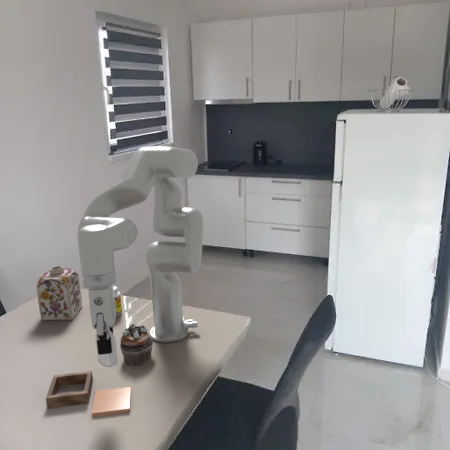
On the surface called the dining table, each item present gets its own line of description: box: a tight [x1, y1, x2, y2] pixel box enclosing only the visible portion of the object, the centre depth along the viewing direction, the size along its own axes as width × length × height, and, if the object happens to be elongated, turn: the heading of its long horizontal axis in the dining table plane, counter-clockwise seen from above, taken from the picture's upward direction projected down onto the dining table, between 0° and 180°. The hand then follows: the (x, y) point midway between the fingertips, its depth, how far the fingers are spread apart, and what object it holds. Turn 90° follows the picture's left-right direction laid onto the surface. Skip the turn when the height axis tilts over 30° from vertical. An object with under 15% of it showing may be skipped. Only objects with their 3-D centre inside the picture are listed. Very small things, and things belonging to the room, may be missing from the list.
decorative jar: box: [36, 265, 83, 321], centre depth 162 cm, size 12×12×18 cm
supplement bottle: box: [113, 285, 123, 317], centre depth 161 cm, size 6×6×10 cm
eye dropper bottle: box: [94, 324, 119, 368], centre depth 108 cm, size 4×6×12 cm
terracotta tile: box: [91, 386, 132, 418], centre depth 113 cm, size 9×9×1 cm
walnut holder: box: [45, 370, 94, 410], centre depth 117 cm, size 10×10×3 cm
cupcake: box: [119, 323, 154, 366], centre depth 132 cm, size 10×10×10 cm
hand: (106, 346), depth 109 cm, fingers closed on eye dropper bottle, 5 cm apart
